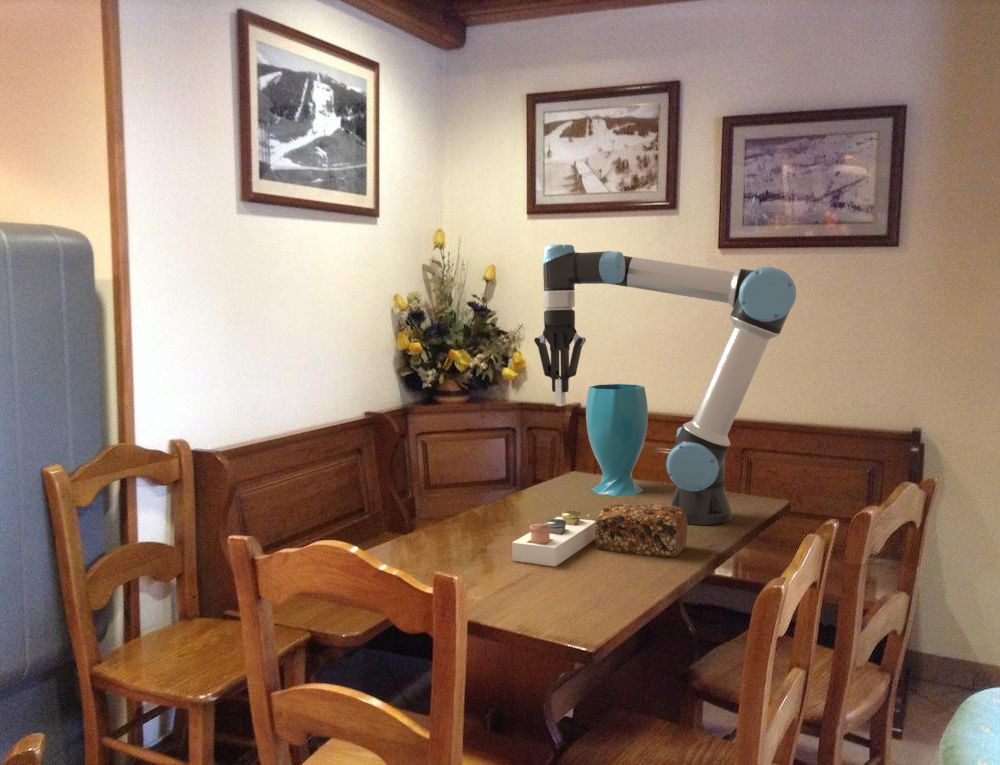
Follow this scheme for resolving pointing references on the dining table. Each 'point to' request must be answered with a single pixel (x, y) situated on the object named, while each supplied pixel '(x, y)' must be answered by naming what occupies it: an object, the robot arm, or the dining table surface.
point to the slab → (554, 545)
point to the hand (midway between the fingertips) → (560, 405)
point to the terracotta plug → (540, 533)
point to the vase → (617, 434)
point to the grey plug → (556, 526)
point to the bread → (642, 529)
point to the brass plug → (571, 517)
